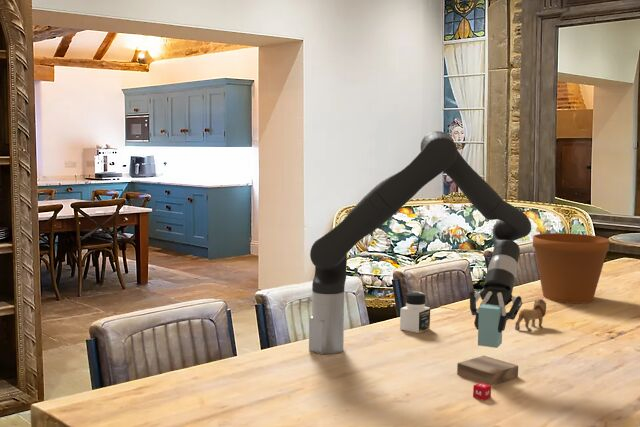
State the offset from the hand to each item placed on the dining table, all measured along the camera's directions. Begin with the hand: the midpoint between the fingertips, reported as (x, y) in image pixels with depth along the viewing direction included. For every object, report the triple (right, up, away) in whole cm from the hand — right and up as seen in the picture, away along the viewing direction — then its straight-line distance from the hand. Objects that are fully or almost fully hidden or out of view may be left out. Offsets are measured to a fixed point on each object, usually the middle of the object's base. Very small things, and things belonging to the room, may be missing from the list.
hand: (488, 329), depth 187 cm
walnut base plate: (0, -12, +3) cm, 13 cm away
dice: (-5, -14, -13) cm, 20 cm away
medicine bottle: (-13, -8, +48) cm, 50 cm away
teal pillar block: (+1, -4, +2) cm, 5 cm away
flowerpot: (+54, -3, +98) cm, 112 cm away
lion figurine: (+26, -8, +52) cm, 59 cm away
